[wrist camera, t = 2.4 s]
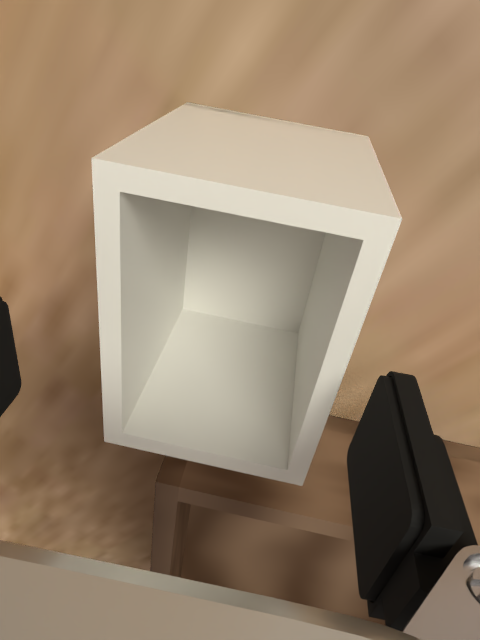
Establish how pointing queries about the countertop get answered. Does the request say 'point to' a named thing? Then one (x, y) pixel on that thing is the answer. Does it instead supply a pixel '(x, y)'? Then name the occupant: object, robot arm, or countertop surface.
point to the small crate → (234, 283)
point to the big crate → (277, 525)
